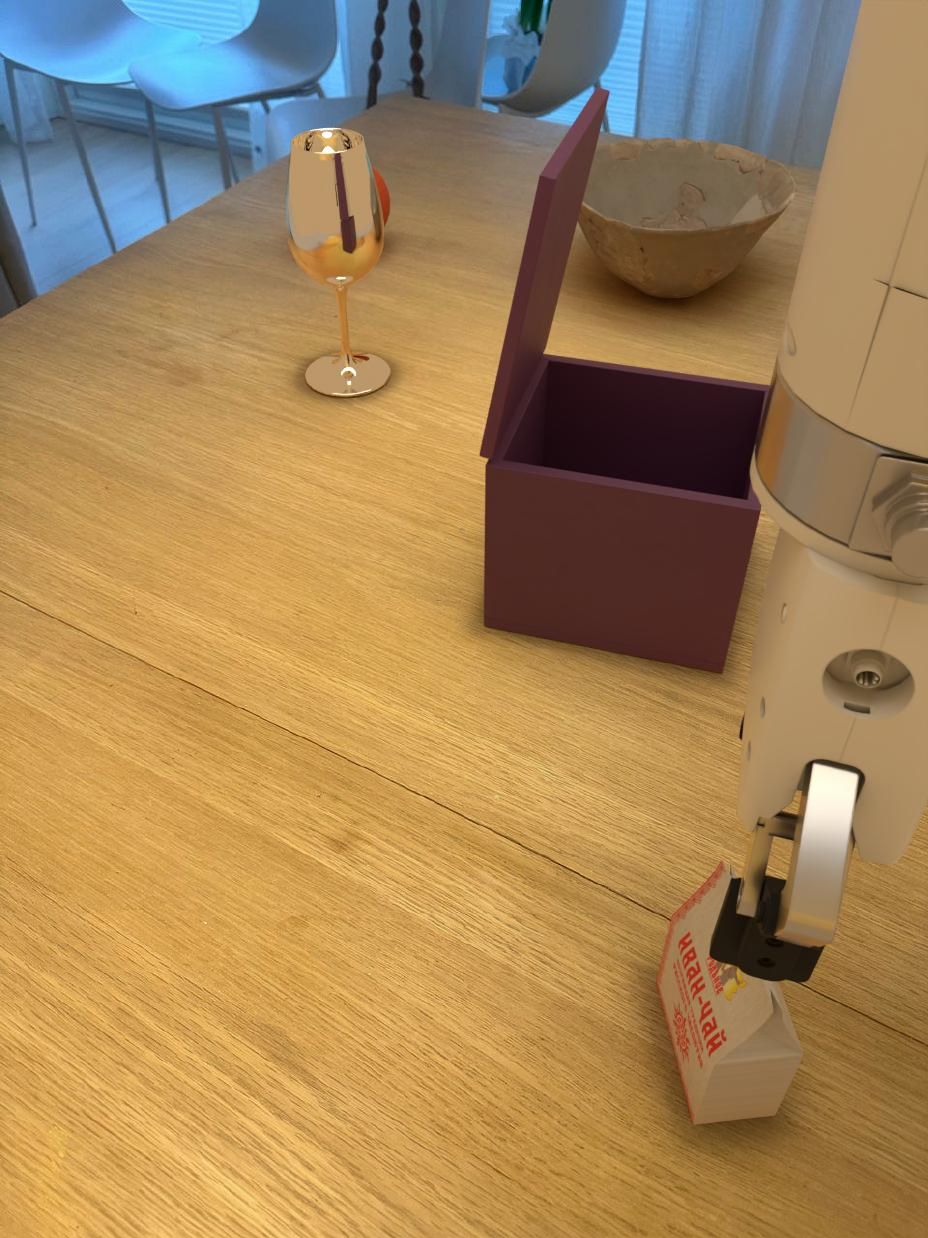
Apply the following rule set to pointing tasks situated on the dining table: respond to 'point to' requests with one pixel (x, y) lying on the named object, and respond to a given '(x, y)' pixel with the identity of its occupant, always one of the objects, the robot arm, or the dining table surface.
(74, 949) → the dining table surface
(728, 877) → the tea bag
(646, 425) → the purple box
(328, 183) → the wineglass
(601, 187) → the ceramic bowl
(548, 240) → the purple box lid
